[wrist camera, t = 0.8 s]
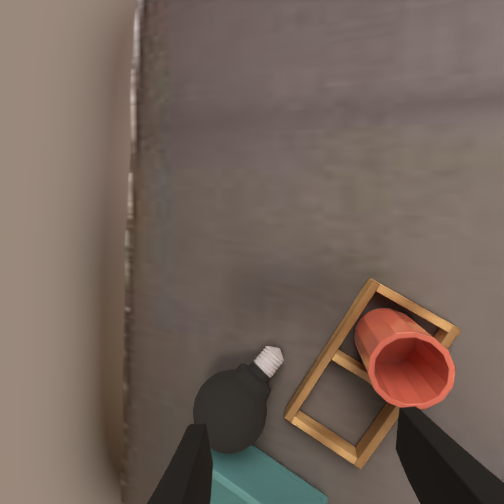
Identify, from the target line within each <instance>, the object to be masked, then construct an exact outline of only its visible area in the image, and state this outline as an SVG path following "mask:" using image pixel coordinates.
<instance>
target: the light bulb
mask: <svg viewBox="0 0 504 504" xmlns="http://www.w3.org/2000/svg"><path fill="white" fill-rule="evenodd" d="M256 358H257V359H256V360H254V361H253V362H252V363H251V364H250V365H249V366H247V365H246V364H241V365H240V366H239V367H238V368H237V369H236V370H229V371H222V372H219V373H217V374H215V375H213V376H212V377H210V378H209V379H208V380H207V381H206V382H205V383H204V384H203V385H202V387H201V388H200V390H199V392H198V394H197V396H196V399H195V403H194V409H193V418H194V424H203V423H206V426H207V431H208V437H209V443H210V448H211V449H213V450H214V451H217V452H220V453H225V454H231V453H237V452H241V451H243V450H245V449H246V448H248V447H249V446H251V445H252V444H253V443H254V442H255V441H256V440H257V438H258V437H259V435H260V434H261V432H262V430H263V427H264V424H265V420H266V412H267V408H266V397H267V396H268V395H269V393H270V387H269V386H268V384H267V383H268V381H269V380H270V379H271V376H273V373H276V370H278V367H280V364H282V362H283V361H284V359H283V356H282V353H281V350H280V348H276V347H271V346H265V349H263V351H262V352H261V354H259V356H258V357H256Z"/></svg>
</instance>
